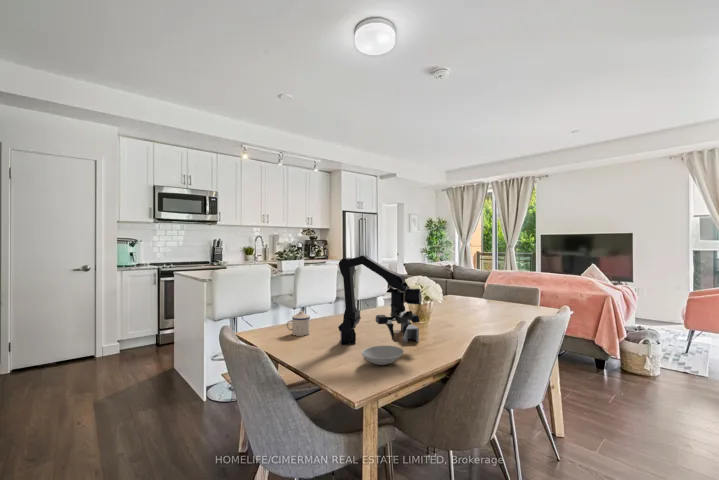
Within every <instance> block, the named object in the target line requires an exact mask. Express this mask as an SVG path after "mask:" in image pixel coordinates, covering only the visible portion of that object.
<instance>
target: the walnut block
mask: <svg viewBox="0 0 719 480" xmlns="http://www.w3.org/2000/svg"><path fill="white" fill-rule="evenodd" d="M393 334H394V337H393V339H392V338H391V341H393V343H402V342H403V343H404V341H403V332H402V331H401V329H397V330H395V329H393Z"/></svg>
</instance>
